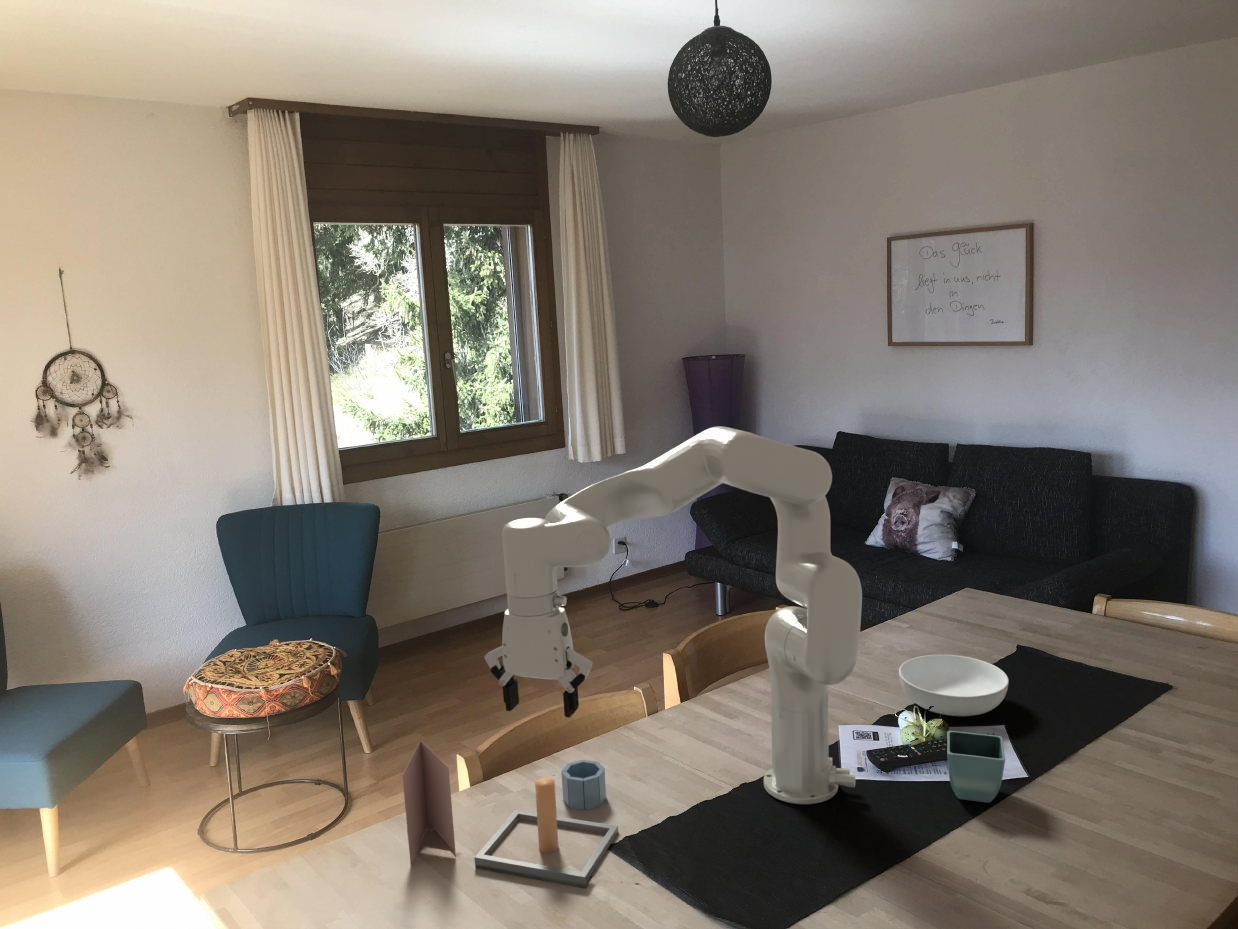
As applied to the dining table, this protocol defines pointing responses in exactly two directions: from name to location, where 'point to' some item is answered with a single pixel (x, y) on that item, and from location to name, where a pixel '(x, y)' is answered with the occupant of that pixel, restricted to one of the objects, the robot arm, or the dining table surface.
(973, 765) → the flower pot
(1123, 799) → the dining table surface
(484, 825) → the dining table surface
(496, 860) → the grey rectangular frame
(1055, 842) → the dining table surface
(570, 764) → the cup
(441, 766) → the greeting card
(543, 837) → the dowel
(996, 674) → the serving bowl
